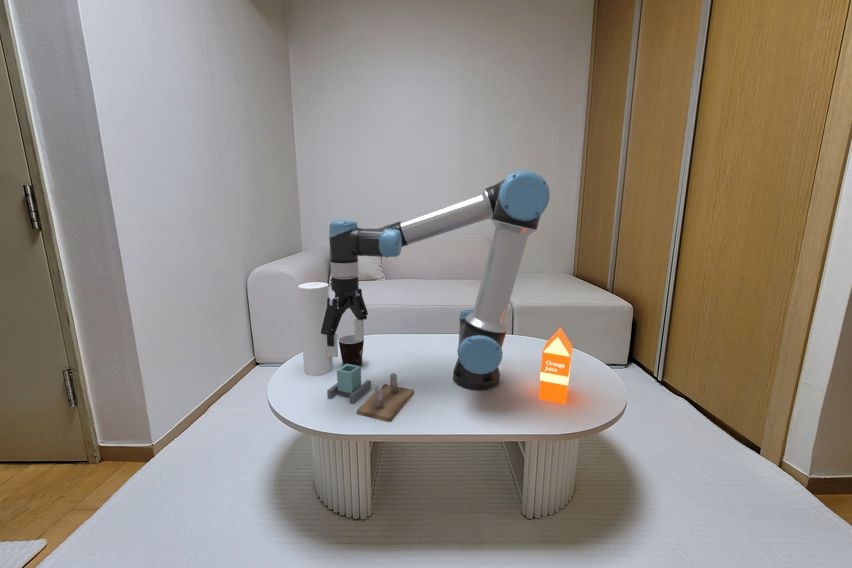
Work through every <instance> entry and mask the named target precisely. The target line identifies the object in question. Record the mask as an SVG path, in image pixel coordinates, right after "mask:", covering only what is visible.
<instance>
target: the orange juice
mask: <svg viewBox="0 0 852 568" xmlns="http://www.w3.org/2000/svg"><path fill="white" fill-rule="evenodd" d="M572 354H573V345H572V344H571V342H570V341H569V339H568V337H567V335H566V334H565V332H564V331H563V329H562V327H559V328H558V330H557V331H556V332H555V333H554V334H553V335H552V336H551V337H550V338H549V339H548V340H547V341H546V342H545V344H544V347H543V349H542V353H541V365H540V375H539V376H540V377H539V391H538V400H541V401H547V402H552V403H555V402H556V403H557V404H560V403H561V405H565V404H566V405H567V399H568V393H569V384H570V374H571V368H572V367H571V363H572Z"/></svg>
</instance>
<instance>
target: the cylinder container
mask: <svg viewBox="0 0 852 568" xmlns="http://www.w3.org/2000/svg"><path fill="white" fill-rule="evenodd" d="M297 287H298V288H297V289H298V301H299V315H300V327H301V329H300V331H301V343H302V357H303V371H304V373H305V374H306V375H310V376H321V375H322V376H323V375H325V374H328V373H330V372H331V371H332V370H333V369H334V366H333V364H334V363H333V357H331V356H328V346H327V335H324V334H321V329H322V325H323V321H324V317H325V312H326V308H327V299H328V298H330V292H329V291H330V290H329V284H328V282H324V281H323V282H322V281H320V282H319V281H317V282H316V281H313V282H305V283H301V284H299V285H298V286H297Z"/></svg>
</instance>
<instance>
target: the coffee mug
mask: <svg viewBox="0 0 852 568" xmlns="http://www.w3.org/2000/svg"><path fill="white" fill-rule="evenodd" d="M364 341H365V339H364V340H363V341H360V340H355V334H346V335H343V336H341V337H338V345H339V346H338V347H339V350H340V356H341V363H342V366H344V365H345V364H351V365H356V366H361V367H362V365H363V364H362V363H363V354H364V353H363V352H364Z"/></svg>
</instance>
